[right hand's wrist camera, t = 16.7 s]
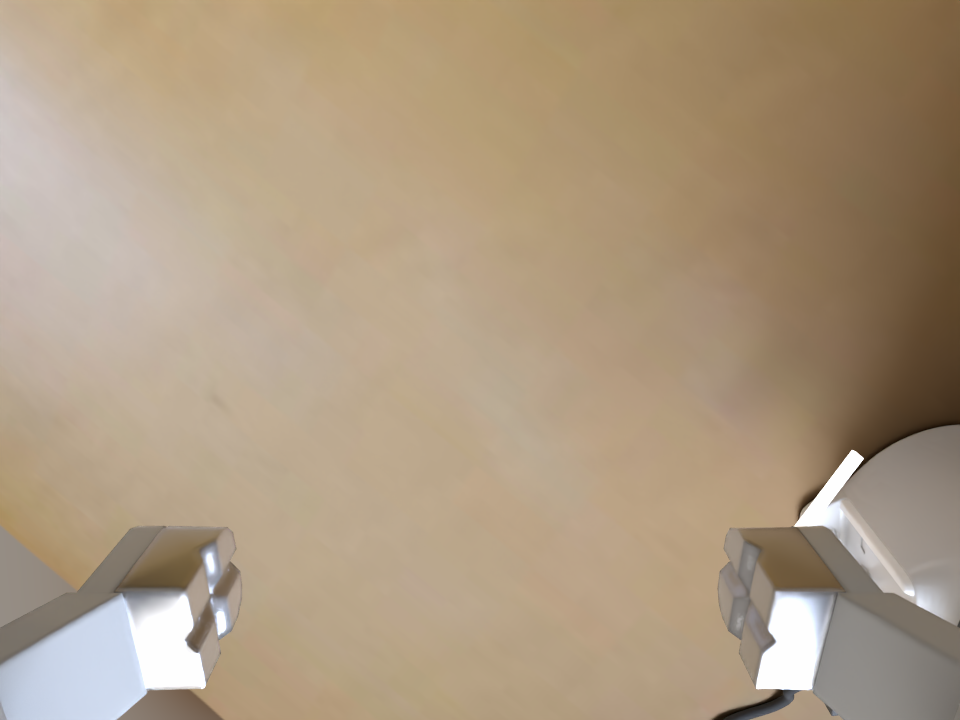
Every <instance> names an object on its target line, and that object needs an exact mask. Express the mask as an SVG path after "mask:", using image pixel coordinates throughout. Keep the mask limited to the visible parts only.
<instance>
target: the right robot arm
mask: <svg viewBox="0 0 960 720" xmlns="http://www.w3.org/2000/svg"><path fill="white" fill-rule="evenodd" d="M863 459H864V458H862V457H861V456H860V455H859V454H858V453H857V452H855V451H853V450H852V451H851V452H850V453H849V455H848V456H847V457H846V459H845V460H844V461H843V463H842V464H841V465H840V467H839V468H838V469H837V471H836V472H835V473H834V475H833V476H832V477H831V479H830V480H829V481H828V482H827V484H826V485H825V486H824V488H823V489H822V490H821V492H820V493H819V494H818V496H817V497H816V498H815V500H813V501H811V502H810V503H809V504H807V505H806V506H805V507H804V508H803V510H802V511H801V514H800V520H799V521H798V522H797V523H796V525H795V526H792V527H774V528H730V529H729V531H728V533H727V535H726V538H725V544H724V550H725V552H726V554H727V556H728V558H729V560H730V562H729V563H728V564H727V565H726V566H725V567H724V568H723V569H722V570H721V571H720V574H719V582H718V598H719V607H720V610H721V614H722V618H723V620H724V622H725V625H726V627H727V629H728V631H729V632H731V633H732V634H733V635H735V636H736V637H737V638H739V639H740V640H741V645H740V650H739V654H740V656H741V658H742V660H743V663H744V665H745V667H746V669H747V671H748V673H749V675H750V677H751V679H752V681H753V683H754V685H755V687H756V688H759V689H783V695H782V696H780V697H779V698H777V699H775V700H773V701H770V702H767V703H765V704H762V705H758V706H755V707H752V708H748V709H745V710H742V711H739V712H737V713H734V714H732V715H730V716H728V717H726V718H724V719H723V720H749V719H753V718H756V717H759V716H763V715H766V714H769V713H772V712H775V711H777V710H779V709H782V708H783V707H785V706H787V705H788V704H790V703H791V702H792V701H793V700H794V694H795V693H797V692H799V691H801V690H813V693H814V694H815V695H816V696H817V697H818V698H819V699H821V700H822V701H823V702H824V703H825V705H826V707H827V709H828V710H829V712H830V714H831V715H832V716H836V715H839V716H840V717H841V718H842V719H844V720H960V425H948V426H942V427H937V428H932V429H928V430H925V431H922V432H919V433H916V434H913V435H911V436H908V437H906V438H904V439H902V440H900V441H898V442H896V443H894V444H892V445H890V446H889V447H887V448H885V449H884V450H882V451H881V452H879V453H878V454H877V455H875V456H874V457H873V458H871V459H870V460H869V461H868V462H867V463H866V464H864V465H863V466H862V467H861V468H860V469H859V470H858V471H857V472H856V473H855V474H854V475H853V476H852V477H851V478H850V479H849V480H848V478H849V477H850V476H851V474H852V473H853V472H854V470H855V469H856V468H857V467H858V465H859V464H860V463H861V461H862V460H863ZM847 480H848V481H847ZM846 481H847V482H846ZM235 550H236V545H235V540H234V535H233V532H232V531H231V530H230V529H229V528H228V527H193V526H168V527H166V526H137V527H134V528H131V529H130V530H129V531H128V532H127V533H126V534H125V536H124V537H123V538H122V539H121V540H120V541H119V543H118V544H117V545H116V546H115V547H114V549H113V550H112V551H111V552H110V553H109V555H108V556H107V557H106V558H105V559H104V561H103V562H102V563H101V564H100V565H99V566H98V568H97V569H96V570H95V571H94V572H93V574H92V575H91V576H90V577H89V578H88V580H87V581H86V582H85V583H84V584H83V585H82V587H81V588H80V589H79V590H78V591H77V593H65V594H63V595H61V596H59V597H58V598H56V599H54V600H52V601H50V602H48V603H46V604H44V605H42V606H40V607H39V608H37V609H35V610H33V611H31V612H29V613H27V614H25V615H23V616H22V617H20V618H18V619H16V620H14V621H12V622H10V623H8V624H6V625H4V626H3V627H1V628H0V720H117V719H118V718H119V717H120V716H121V715H122V714H124V713H125V712H126V711H127V710H128V709H129V708H131V707H132V706H133V705H134V704H135V703H136V702H137V701H139V700H140V699H141V698H142V697H143V696H144V695H146V694H147V690H165V689H199V688H204V687H205V685H206V683H207V681H208V679H209V677H210V675H211V673H212V671H213V669H214V667H215V665H216V663H217V661H218V658H219V656H220V654H221V650H220V645H219V640H220V639H221V638H223V637H224V636H225V635H227V634H228V633H229V632H231V631H232V629H233V627H234V624H235V622H236V620H237V618H238V614H239V610H240V605H241V600H242V580H241V574H240V571H239V570H238V569H237V568H236V567H235V566H234V565H233V564H232V563H231V562H230V560H231V558H232V556H233V554H234V552H235Z"/></svg>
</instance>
